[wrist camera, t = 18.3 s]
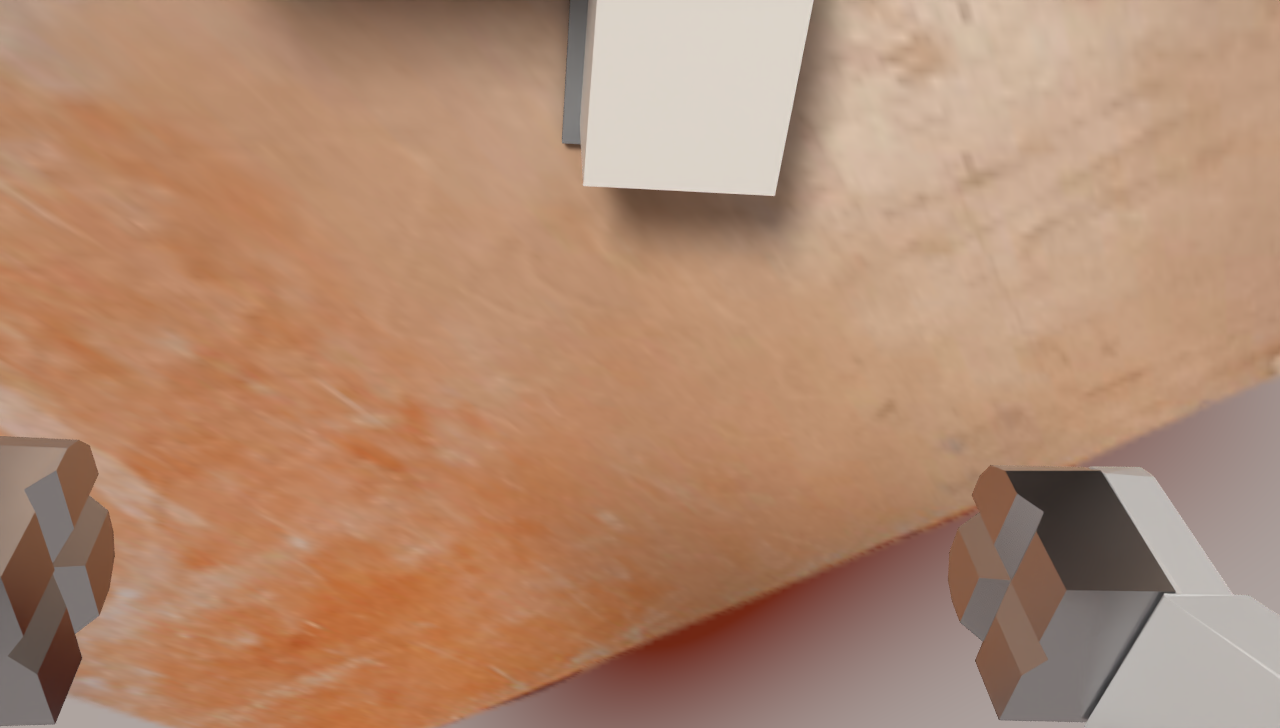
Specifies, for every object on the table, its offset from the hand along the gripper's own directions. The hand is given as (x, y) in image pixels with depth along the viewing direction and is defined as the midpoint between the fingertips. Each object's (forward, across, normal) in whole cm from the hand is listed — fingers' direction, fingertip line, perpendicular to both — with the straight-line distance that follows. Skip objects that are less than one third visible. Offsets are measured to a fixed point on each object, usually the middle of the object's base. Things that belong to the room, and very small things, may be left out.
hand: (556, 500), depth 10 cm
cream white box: (+21, +4, -2) cm, 21 cm away
